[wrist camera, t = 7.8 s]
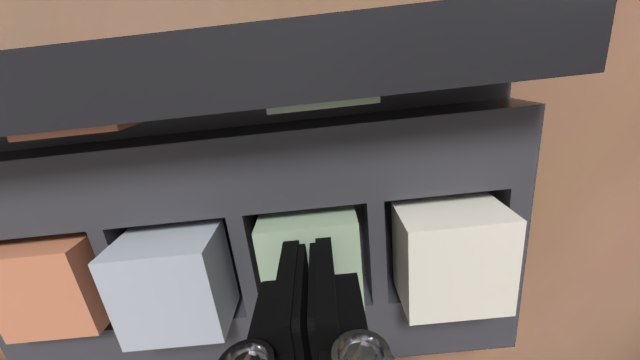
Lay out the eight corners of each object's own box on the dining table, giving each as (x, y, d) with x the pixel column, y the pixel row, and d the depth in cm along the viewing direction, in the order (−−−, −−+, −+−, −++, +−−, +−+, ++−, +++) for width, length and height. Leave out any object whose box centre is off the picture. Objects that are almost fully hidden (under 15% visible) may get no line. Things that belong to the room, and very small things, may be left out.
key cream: (487, 192, 12) (526, 221, 10) (481, 273, 13) (515, 316, 11) (390, 201, 12) (408, 232, 10) (393, 281, 13) (409, 326, 11)
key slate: (222, 218, 12) (201, 252, 10) (239, 296, 14) (224, 342, 11) (128, 228, 12) (87, 264, 10) (154, 304, 14) (122, 352, 11)
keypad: (494, 14, 13) (620, -21, 7) (476, 291, 17) (546, 391, 12) (-34, 73, 13) (-263, 80, 8) (79, 329, 17) (-20, 441, 12)
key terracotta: (107, 221, 13) (64, 253, 11) (133, 293, 15) (99, 335, 12) (21, 229, 13) (-39, 263, 11) (54, 301, 15) (5, 344, 12)
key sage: (351, 196, 13) (358, 223, 11) (356, 271, 14) (364, 310, 12) (262, 205, 13) (251, 234, 11) (275, 279, 14) (268, 319, 12)
